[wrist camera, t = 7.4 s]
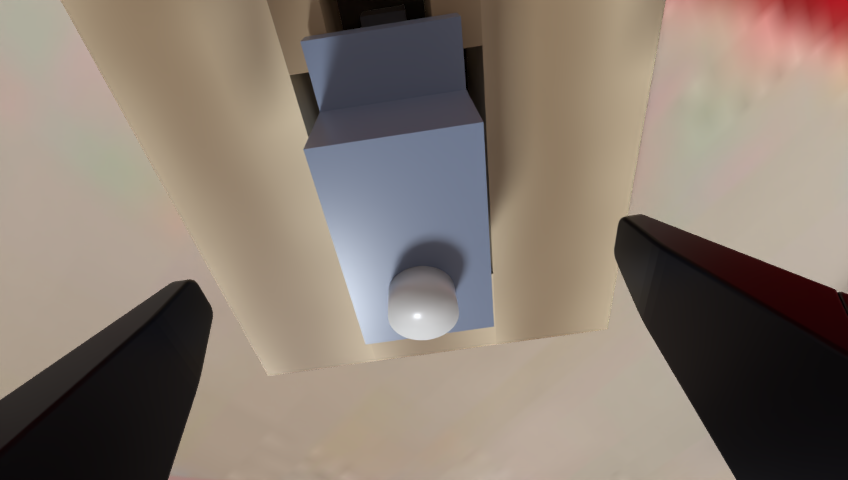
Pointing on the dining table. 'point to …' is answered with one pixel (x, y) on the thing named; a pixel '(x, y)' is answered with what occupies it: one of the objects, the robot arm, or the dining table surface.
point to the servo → (402, 174)
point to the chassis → (294, 187)
